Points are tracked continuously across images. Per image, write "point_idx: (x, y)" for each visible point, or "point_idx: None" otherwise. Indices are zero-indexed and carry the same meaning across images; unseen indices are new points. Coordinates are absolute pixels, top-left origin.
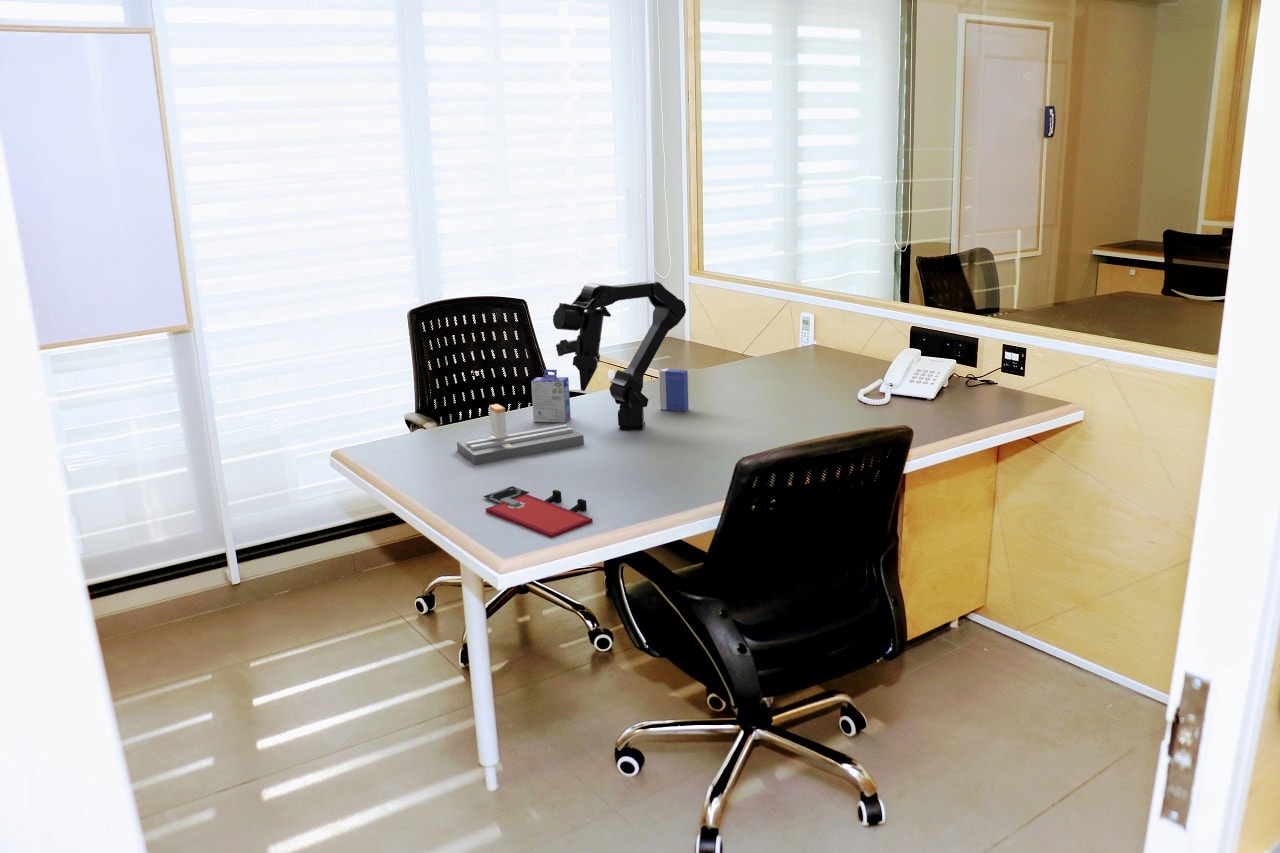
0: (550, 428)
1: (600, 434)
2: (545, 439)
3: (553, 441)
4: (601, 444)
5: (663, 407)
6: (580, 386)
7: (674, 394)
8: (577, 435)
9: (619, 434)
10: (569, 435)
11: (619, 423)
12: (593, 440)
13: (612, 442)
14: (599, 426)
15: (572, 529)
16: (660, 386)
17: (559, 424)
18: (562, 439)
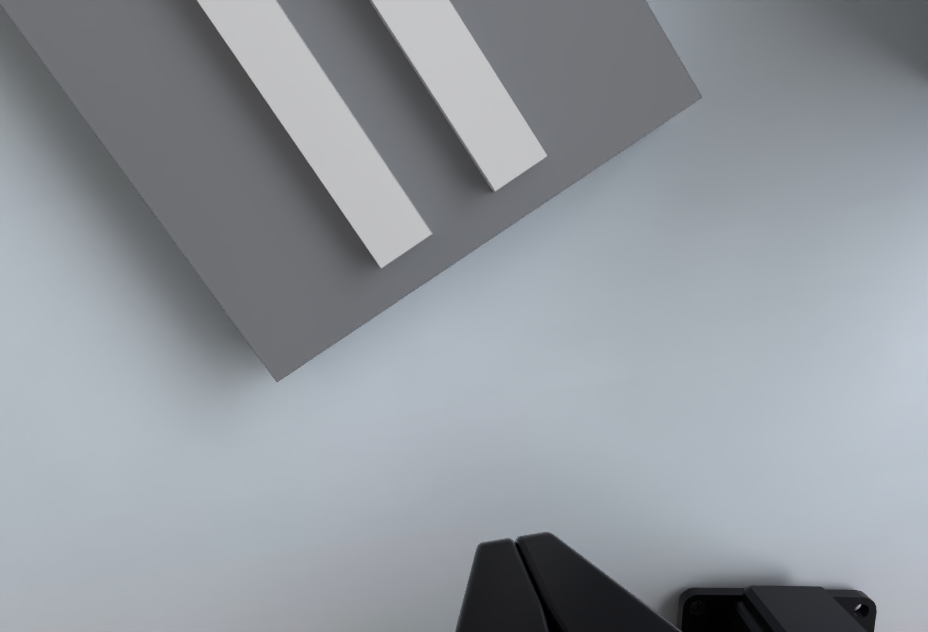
0: (399, 20)
1: (573, 454)
2: (119, 31)
3: (91, 123)
4: (301, 500)
5: None
6: (467, 594)
7: None
8: (266, 328)
9: None
10: (264, 251)
11: (751, 607)
12: (408, 423)
13: (355, 575)
14: (807, 413)
15: None
16: None
17: (649, 79)
18: (149, 203)
